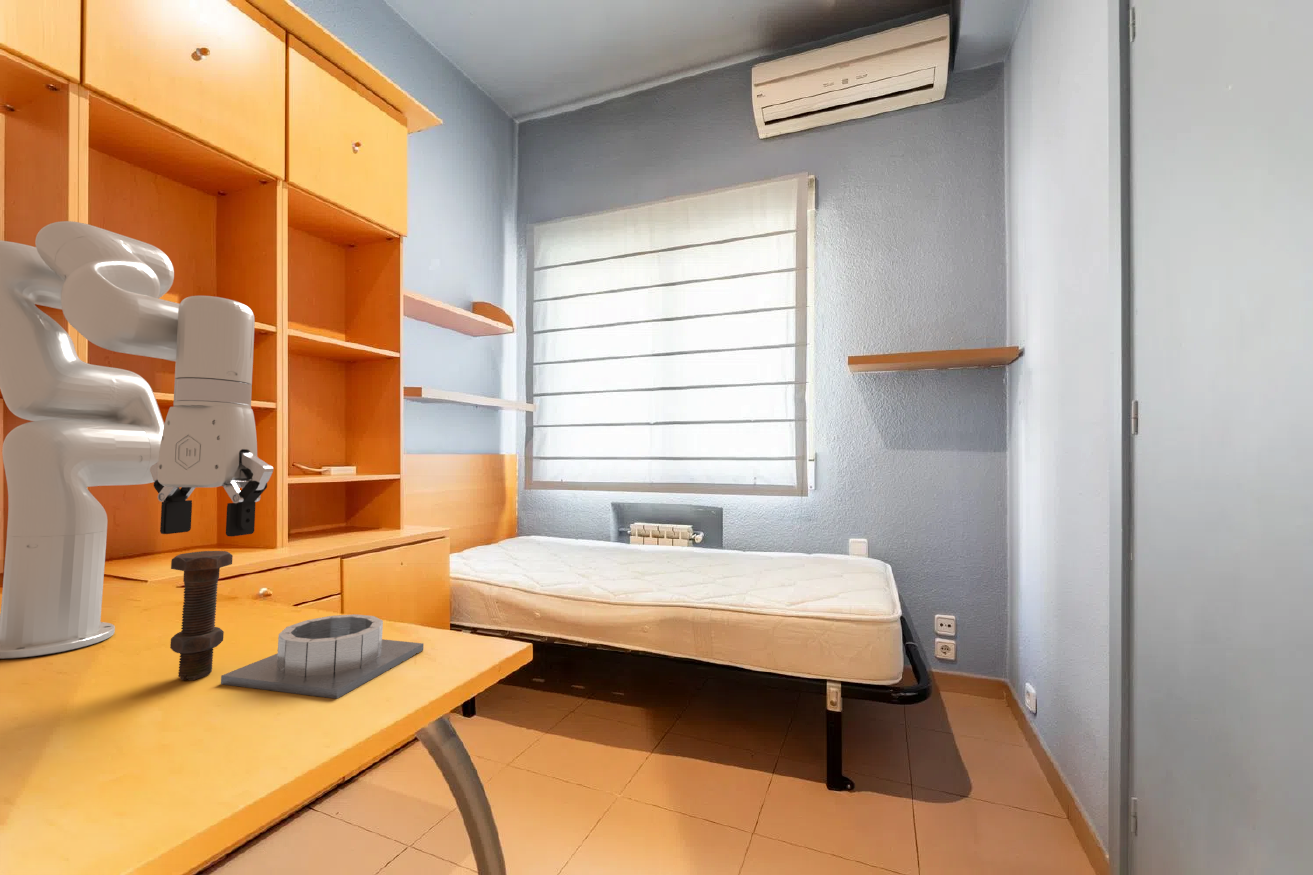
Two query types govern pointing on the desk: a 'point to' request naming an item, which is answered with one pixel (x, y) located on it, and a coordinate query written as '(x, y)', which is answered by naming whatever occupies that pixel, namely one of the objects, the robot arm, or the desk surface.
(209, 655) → the bolt
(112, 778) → the desk surface
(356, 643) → the ring fixture
